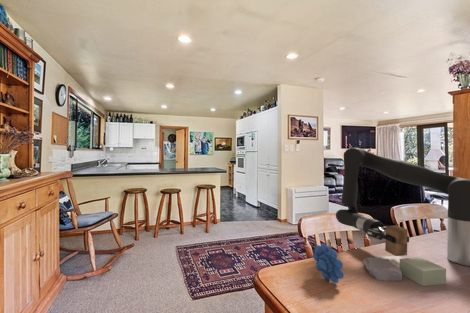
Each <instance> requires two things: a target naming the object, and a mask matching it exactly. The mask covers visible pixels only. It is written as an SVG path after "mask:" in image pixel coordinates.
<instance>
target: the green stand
mask: <svg viewBox="0 0 470 313" xmlns="http://www.w3.org/2000/svg"><path fill="white" fill-rule="evenodd" d="M403 258H404V257H403ZM400 270H401V272H402V276H405V277H407V278H408V279H409V280H411V281H413V282H415V283H416V284H418V285H420V286H421V287H428V286H438V285H444V284H445V285H446V284H447V268H446V267H443V266H441V265H439V264H436V263H434V262H432V261H430V260H429V259H428V260H427V259H425V258H424V257H421V256H418V257H407V258H406V257H405V258H404V259H400Z"/></svg>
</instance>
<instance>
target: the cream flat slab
mask: <svg viewBox="0 0 470 313" xmlns="http://www.w3.org/2000/svg"><path fill="white" fill-rule="evenodd" d="M377 257H378V258H383V259H389V260H390V262H391V263H392V264H393V265H396V266H397V267H399V268H400V259H404V257H402V256H394V255H387V256H386V255H385V256H377Z"/></svg>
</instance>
